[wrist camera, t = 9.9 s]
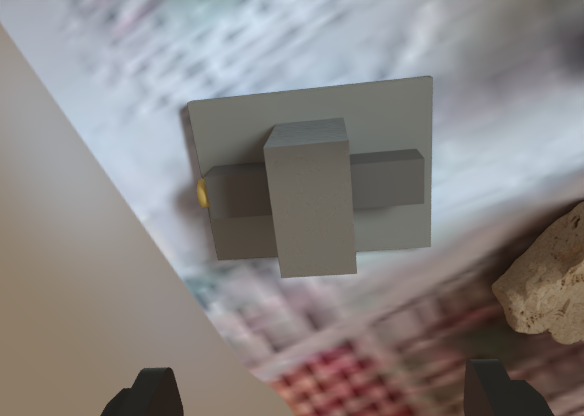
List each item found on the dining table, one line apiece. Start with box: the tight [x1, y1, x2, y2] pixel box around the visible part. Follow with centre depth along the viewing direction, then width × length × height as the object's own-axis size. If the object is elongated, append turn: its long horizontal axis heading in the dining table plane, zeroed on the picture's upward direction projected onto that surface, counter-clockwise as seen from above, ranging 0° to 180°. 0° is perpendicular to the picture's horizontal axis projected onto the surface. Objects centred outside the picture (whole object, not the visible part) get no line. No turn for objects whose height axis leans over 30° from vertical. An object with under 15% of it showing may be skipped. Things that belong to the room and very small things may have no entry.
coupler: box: [187, 76, 433, 260], centre depth 29 cm, size 12×16×4 cm
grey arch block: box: [263, 117, 357, 278], centre depth 27 cm, size 8×4×6 cm, turn 6°
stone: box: [492, 201, 584, 344], centre depth 30 cm, size 9×11×5 cm
